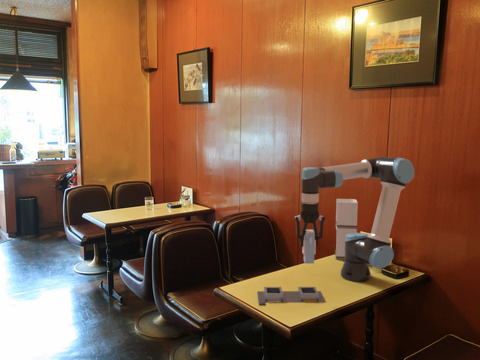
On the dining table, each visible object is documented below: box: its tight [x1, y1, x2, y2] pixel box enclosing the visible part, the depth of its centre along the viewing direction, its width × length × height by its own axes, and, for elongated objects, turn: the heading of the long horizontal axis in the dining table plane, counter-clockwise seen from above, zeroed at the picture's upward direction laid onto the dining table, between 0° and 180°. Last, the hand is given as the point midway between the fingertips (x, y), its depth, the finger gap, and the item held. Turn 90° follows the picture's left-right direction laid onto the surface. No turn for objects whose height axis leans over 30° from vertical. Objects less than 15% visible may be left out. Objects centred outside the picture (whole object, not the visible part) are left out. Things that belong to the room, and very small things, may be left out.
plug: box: [303, 229, 315, 265], centre depth 173 cm, size 4×6×15 cm
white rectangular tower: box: [334, 198, 359, 261], centre depth 233 cm, size 11×11×35 cm
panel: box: [257, 286, 327, 306], centre depth 177 cm, size 30×12×4 cm, turn 90°
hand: (308, 253), depth 175 cm, fingers closed on plug, 4 cm apart
